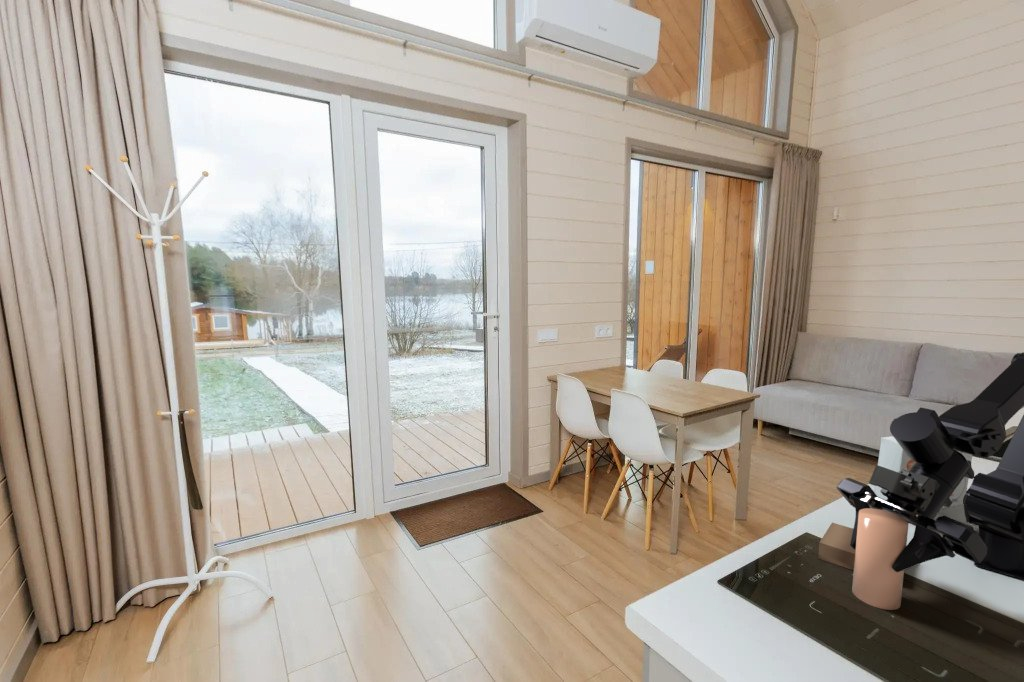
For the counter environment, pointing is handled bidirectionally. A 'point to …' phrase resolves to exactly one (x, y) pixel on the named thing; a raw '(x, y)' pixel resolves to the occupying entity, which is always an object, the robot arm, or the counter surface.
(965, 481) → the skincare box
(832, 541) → the podium
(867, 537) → the canister
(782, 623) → the counter surface
